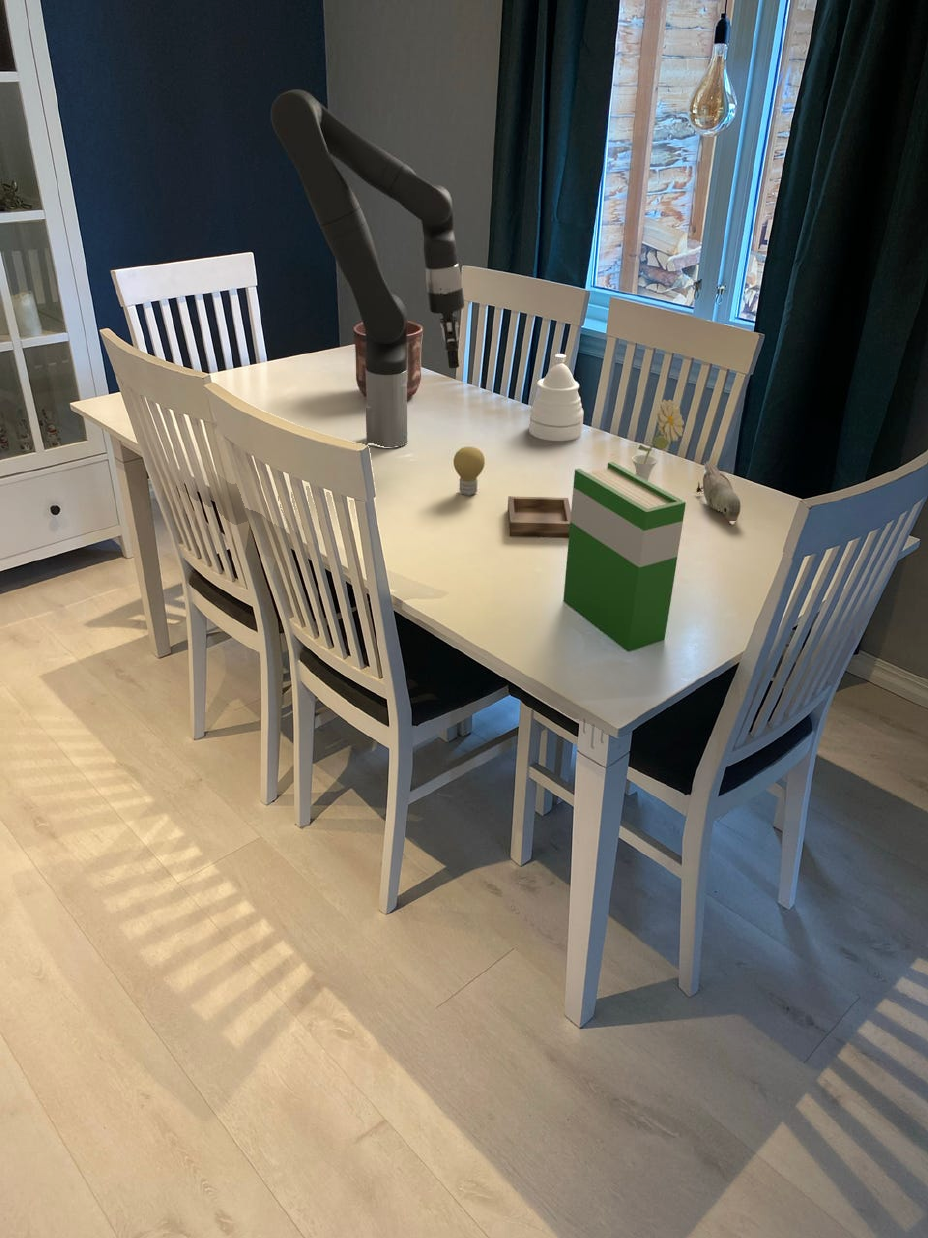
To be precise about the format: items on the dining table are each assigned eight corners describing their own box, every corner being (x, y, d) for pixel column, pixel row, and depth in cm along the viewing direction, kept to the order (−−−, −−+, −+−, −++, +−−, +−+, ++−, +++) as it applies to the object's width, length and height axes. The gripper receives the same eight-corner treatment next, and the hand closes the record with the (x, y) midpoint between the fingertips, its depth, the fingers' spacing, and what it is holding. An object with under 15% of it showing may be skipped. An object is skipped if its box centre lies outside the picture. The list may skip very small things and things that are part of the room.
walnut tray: (509, 536, 185) (510, 522, 183) (507, 509, 195) (508, 496, 194) (572, 538, 185) (573, 523, 183) (567, 511, 195) (568, 497, 194)
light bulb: (488, 490, 203) (490, 445, 198) (475, 501, 198) (477, 455, 193) (460, 484, 206) (461, 439, 200) (447, 495, 201) (448, 449, 195)
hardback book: (563, 601, 164) (574, 469, 152) (598, 591, 167) (612, 461, 155) (627, 651, 151) (646, 512, 139) (664, 640, 154) (685, 502, 142)
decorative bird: (720, 527, 191) (726, 492, 187) (690, 494, 204) (695, 461, 201) (745, 526, 192) (752, 491, 188) (714, 493, 205) (720, 460, 201)
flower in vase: (629, 542, 184) (645, 415, 171) (596, 518, 193) (608, 396, 180) (684, 529, 189) (703, 405, 176) (649, 507, 198) (665, 387, 185)
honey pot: (528, 421, 240) (532, 349, 231) (580, 423, 240) (586, 350, 231) (529, 440, 229) (534, 365, 220) (583, 442, 229) (590, 366, 220)
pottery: (420, 408, 246) (421, 337, 237) (352, 406, 246) (349, 335, 237) (424, 387, 261) (424, 319, 252) (359, 385, 261) (357, 317, 252)
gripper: (427, 282, 213) (436, 355, 222) (427, 296, 201) (437, 373, 209) (460, 278, 213) (468, 351, 221) (463, 292, 201) (471, 369, 209)
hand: (453, 361), depth 215 cm, fingers open, 8 cm apart
